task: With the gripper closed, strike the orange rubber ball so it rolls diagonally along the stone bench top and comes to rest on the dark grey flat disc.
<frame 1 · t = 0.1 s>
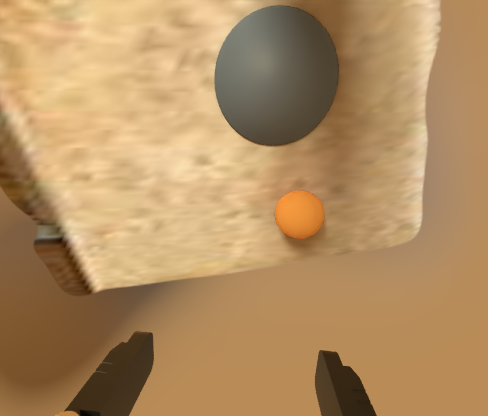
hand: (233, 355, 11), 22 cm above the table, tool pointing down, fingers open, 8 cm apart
dark grey flat disc: (274, 82, 27), on the table
ball: (299, 214, 29), on the table
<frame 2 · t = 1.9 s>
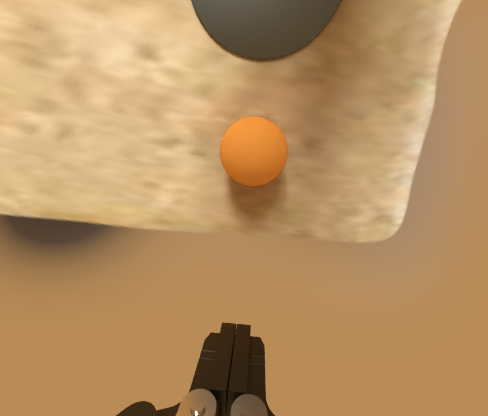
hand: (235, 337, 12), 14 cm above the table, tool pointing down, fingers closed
ball: (253, 152, 21), on the table
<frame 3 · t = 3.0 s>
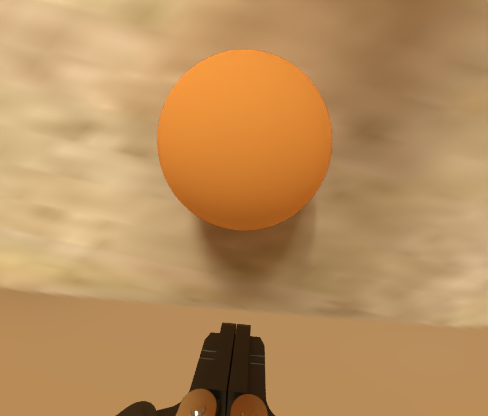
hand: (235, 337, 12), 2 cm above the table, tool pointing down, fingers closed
ball: (244, 148, 8), on the table
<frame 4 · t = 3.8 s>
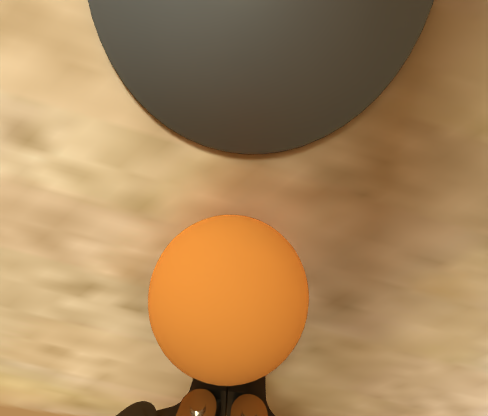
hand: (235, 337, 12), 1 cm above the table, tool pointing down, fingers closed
ball: (230, 290, 9), on the table, touching gripper
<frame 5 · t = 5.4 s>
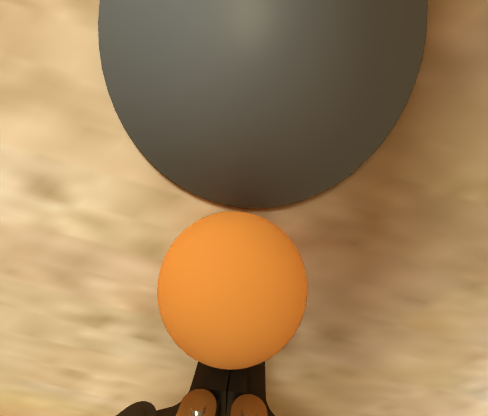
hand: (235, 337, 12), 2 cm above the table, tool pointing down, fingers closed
dark grey flat disc: (254, 53, 10), on the table
ball: (233, 282, 10), on the table, touching gripper
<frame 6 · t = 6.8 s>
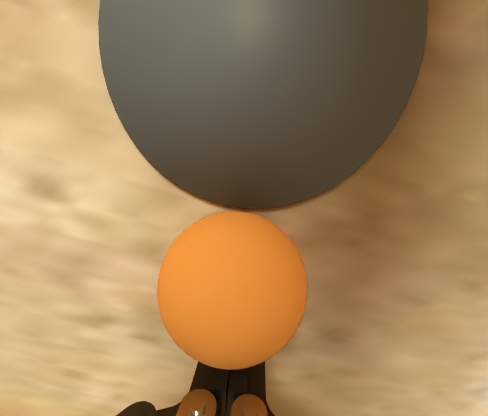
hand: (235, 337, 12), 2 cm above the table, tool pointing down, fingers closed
dark grey flat disc: (254, 53, 10), on the table
ball: (233, 282, 10), on the table, touching gripper
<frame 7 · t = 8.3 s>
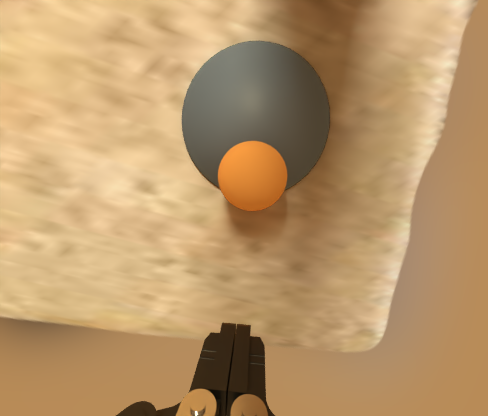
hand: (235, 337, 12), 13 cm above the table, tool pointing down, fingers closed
dark grey flat disc: (254, 124, 22), on the table
ball: (252, 176, 20), on the table
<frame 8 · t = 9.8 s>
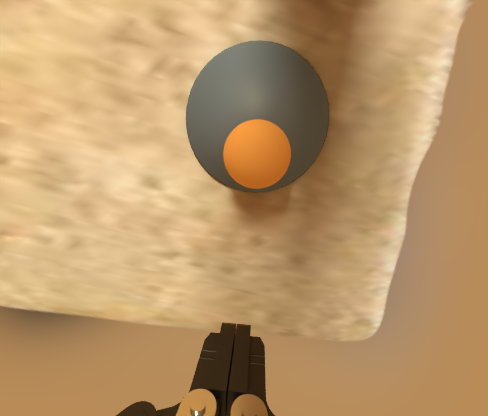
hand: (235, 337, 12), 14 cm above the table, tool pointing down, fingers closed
dark grey flat disc: (256, 121, 23), on the table
ball: (256, 155, 21), on the table
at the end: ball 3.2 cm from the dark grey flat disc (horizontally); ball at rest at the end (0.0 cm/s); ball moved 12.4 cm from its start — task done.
